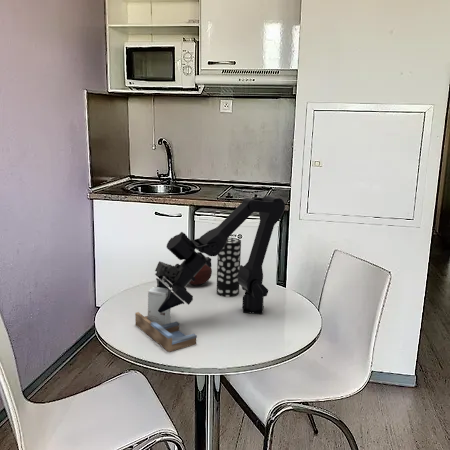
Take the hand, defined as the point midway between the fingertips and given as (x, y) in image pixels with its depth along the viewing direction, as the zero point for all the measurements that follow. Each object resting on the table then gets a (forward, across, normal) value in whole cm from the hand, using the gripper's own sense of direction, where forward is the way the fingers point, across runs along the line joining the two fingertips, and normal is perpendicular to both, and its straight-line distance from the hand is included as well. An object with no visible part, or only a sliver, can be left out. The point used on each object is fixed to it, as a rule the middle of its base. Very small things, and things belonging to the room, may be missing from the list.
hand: (154, 307), depth 149 cm
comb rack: (+4, +5, +6) cm, 9 cm away
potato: (-14, -30, +24) cm, 41 cm away
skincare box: (+4, 0, +6) cm, 7 cm away
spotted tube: (-20, -18, +29) cm, 39 cm away
